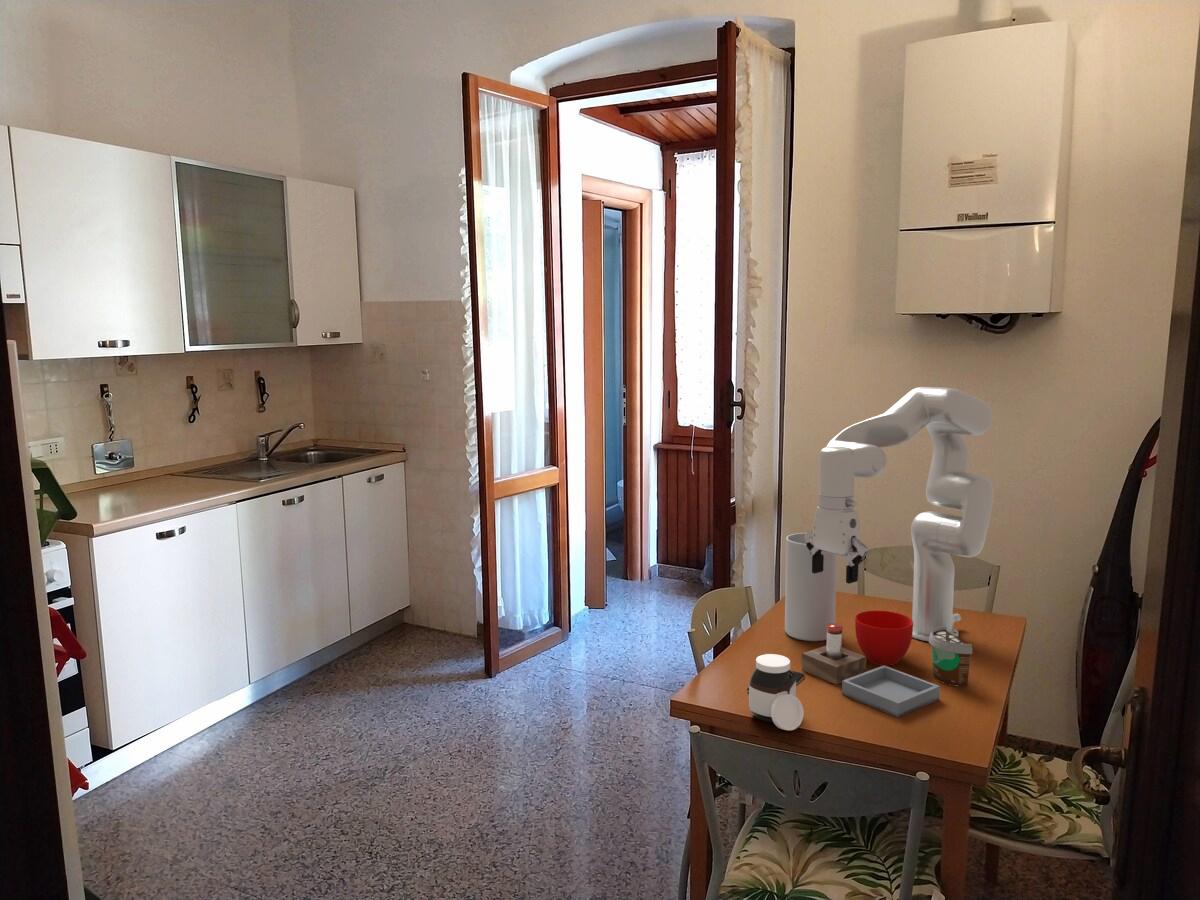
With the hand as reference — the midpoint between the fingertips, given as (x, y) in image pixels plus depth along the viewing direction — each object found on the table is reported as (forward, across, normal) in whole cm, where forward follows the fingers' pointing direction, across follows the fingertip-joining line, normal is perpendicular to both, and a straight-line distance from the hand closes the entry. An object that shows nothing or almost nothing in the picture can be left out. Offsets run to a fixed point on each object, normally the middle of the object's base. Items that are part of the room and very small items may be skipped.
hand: (834, 577), depth 192 cm
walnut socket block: (+22, 0, 0) cm, 22 cm away
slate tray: (+22, -16, +1) cm, 28 cm away
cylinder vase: (+23, +20, -15) cm, 34 cm away
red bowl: (+23, -2, -17) cm, 28 cm away
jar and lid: (+23, -9, +27) cm, 36 cm away
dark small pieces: (+23, +3, +15) cm, 28 cm away
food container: (+23, -17, -17) cm, 33 cm away
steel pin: (+22, 0, 0) cm, 22 cm away
